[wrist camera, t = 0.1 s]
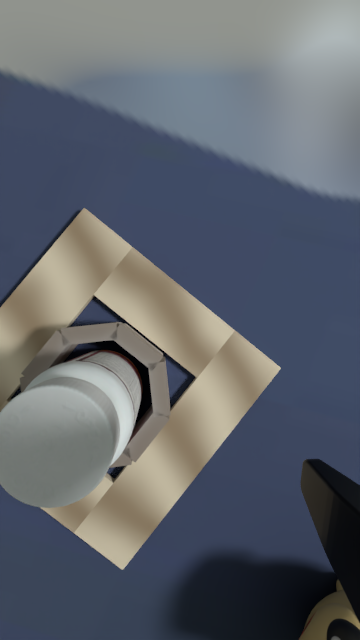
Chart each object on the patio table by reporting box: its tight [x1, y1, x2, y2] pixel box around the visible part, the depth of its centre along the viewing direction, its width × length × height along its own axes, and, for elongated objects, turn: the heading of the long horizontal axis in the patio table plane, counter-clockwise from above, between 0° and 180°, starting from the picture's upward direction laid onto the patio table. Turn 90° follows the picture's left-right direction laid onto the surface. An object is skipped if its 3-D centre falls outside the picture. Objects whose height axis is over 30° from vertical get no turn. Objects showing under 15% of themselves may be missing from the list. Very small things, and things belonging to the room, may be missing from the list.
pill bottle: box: [0, 350, 143, 508], centre depth 18 cm, size 6×6×11 cm
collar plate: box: [0, 208, 281, 570], centre depth 22 cm, size 20×20×3 cm
